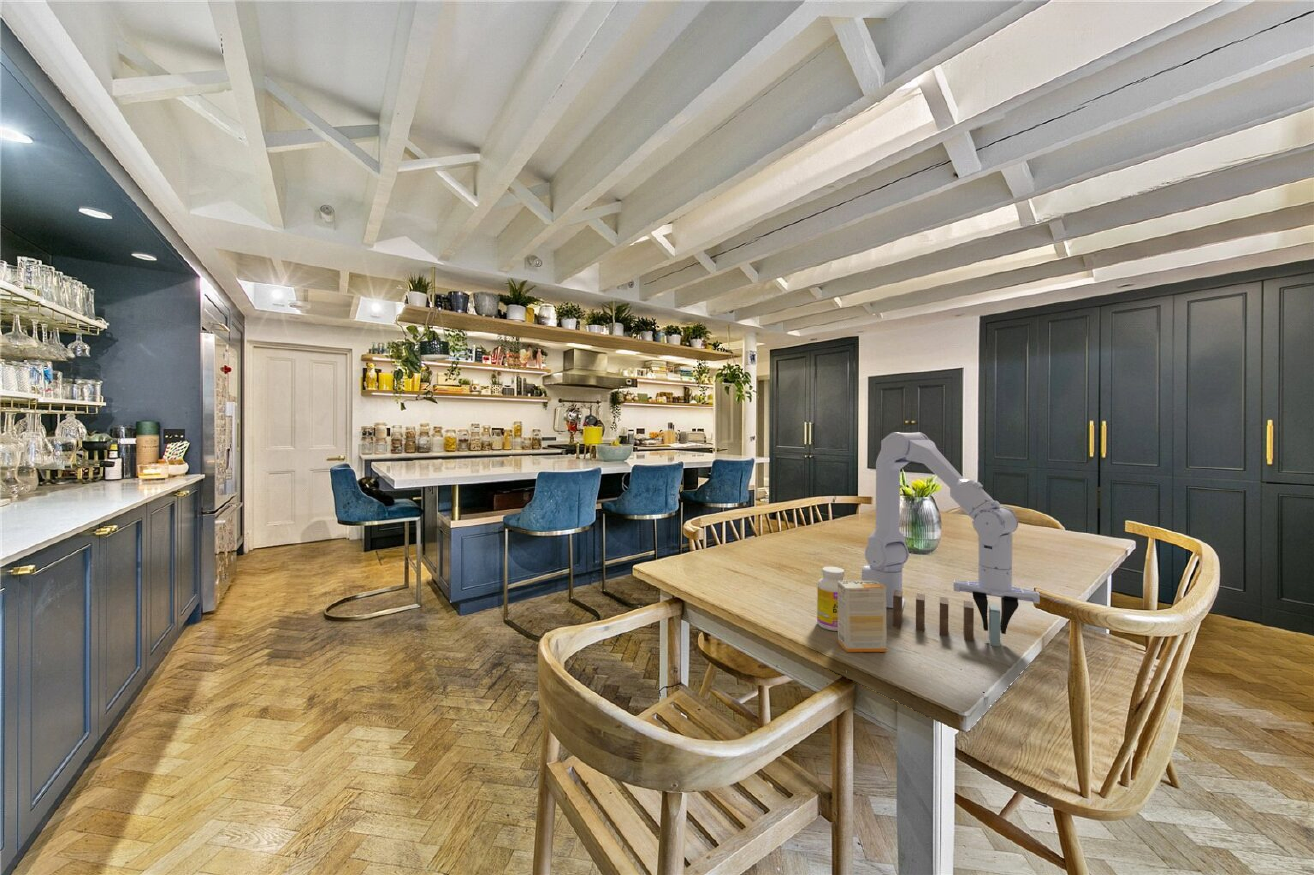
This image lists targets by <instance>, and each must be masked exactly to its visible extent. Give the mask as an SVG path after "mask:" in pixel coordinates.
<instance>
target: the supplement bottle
mask: <svg viewBox="0 0 1314 875" xmlns="http://www.w3.org/2000/svg"><path fill="white" fill-rule="evenodd" d="M821 571H822V572H821V573H822V574H821V575H822V578H820V579H819V580H818V581H817V593H816V594H817V596H816V597H817V600H816V601H817V602H816V604H817V606H816V612H817V613H816V614H817V615H816V621H817V624H818V626H819V627H821V629H825V630H827V631H833V632H838V582H837V581H845V579H844V577H845V570H844V569H843V568H841V567H837V566H824V567H822V570H821Z"/></svg>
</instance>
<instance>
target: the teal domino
mask: <svg viewBox="0 0 1314 875" xmlns="http://www.w3.org/2000/svg"><path fill="white" fill-rule="evenodd" d="M1000 623H1001V610H1000V606H999V605H996V604H995V605H994V604H988V640H989V644H990V646H994V647H998V648H1001V630H1000Z"/></svg>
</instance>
